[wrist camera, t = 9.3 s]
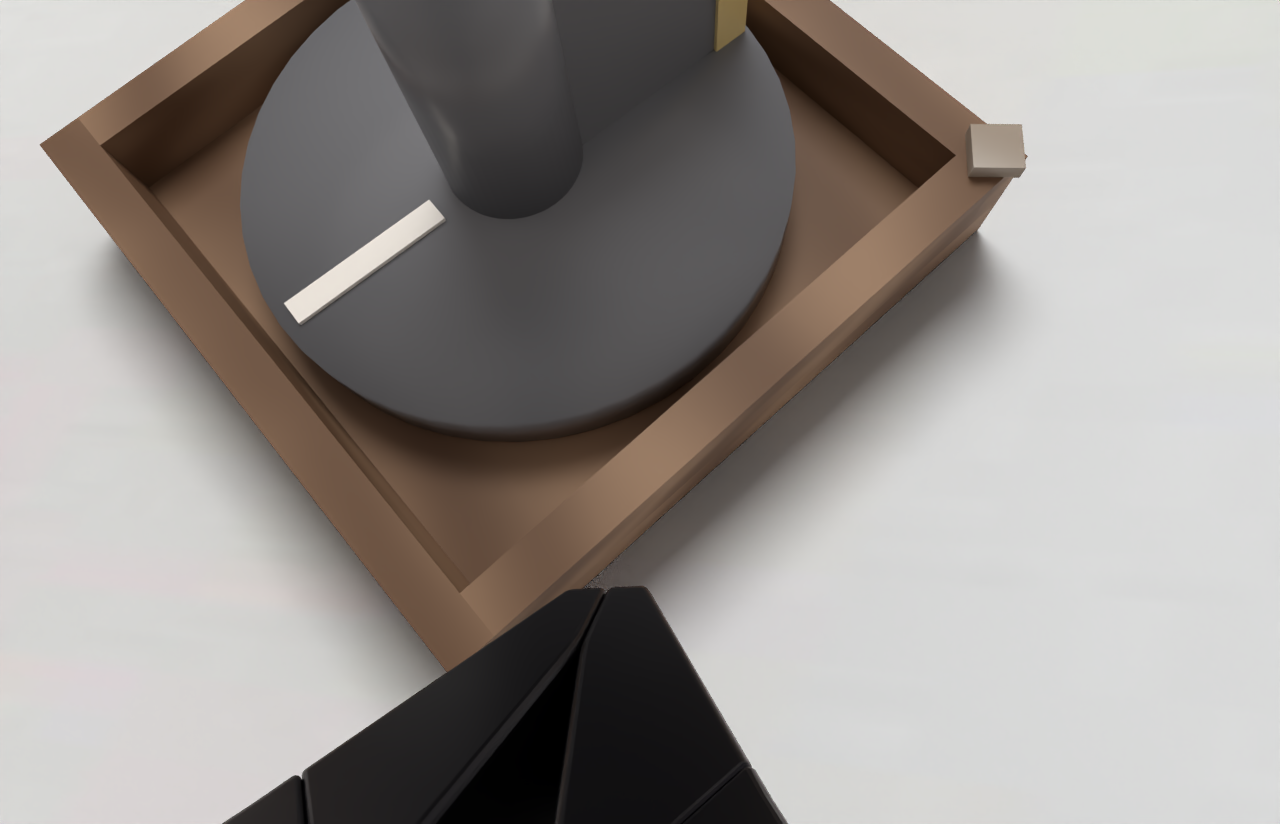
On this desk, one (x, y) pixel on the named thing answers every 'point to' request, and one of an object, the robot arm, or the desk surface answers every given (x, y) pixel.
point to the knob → (519, 204)
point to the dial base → (551, 468)
